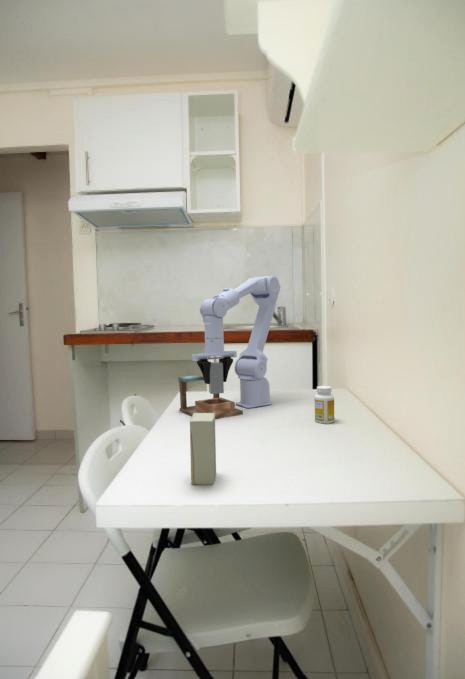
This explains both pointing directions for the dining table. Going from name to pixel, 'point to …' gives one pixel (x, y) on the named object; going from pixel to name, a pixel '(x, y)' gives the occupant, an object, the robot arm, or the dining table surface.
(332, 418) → the supplement bottle
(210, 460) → the skincare box
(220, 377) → the steel peg
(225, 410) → the socket station
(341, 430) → the dining table surface
